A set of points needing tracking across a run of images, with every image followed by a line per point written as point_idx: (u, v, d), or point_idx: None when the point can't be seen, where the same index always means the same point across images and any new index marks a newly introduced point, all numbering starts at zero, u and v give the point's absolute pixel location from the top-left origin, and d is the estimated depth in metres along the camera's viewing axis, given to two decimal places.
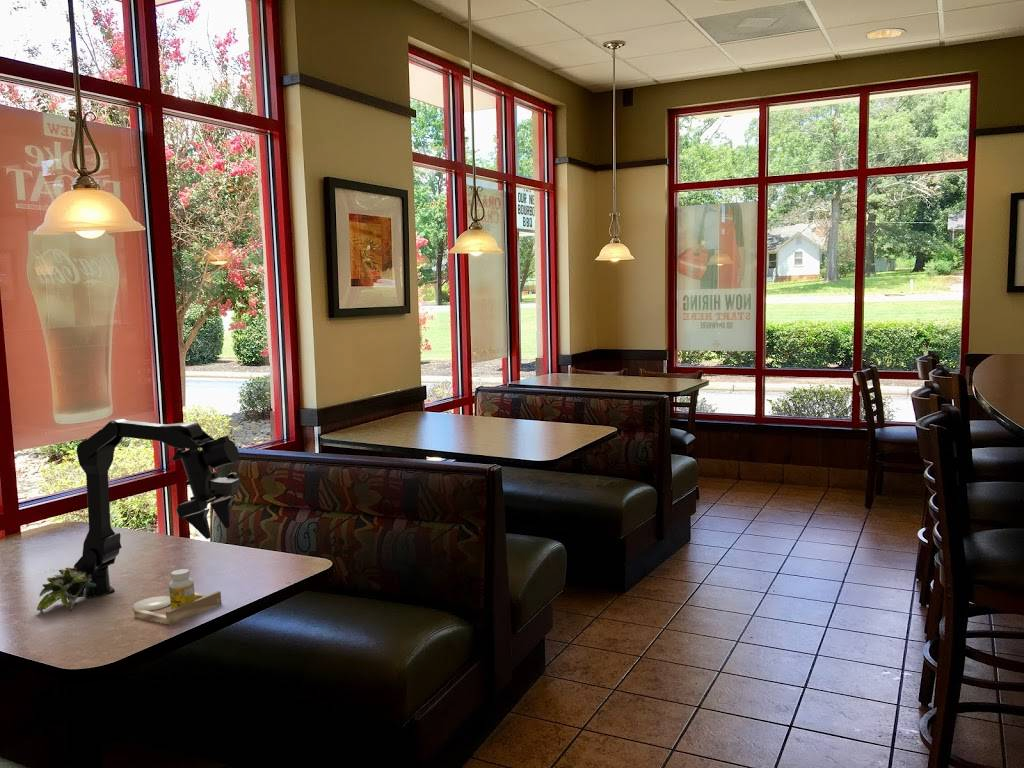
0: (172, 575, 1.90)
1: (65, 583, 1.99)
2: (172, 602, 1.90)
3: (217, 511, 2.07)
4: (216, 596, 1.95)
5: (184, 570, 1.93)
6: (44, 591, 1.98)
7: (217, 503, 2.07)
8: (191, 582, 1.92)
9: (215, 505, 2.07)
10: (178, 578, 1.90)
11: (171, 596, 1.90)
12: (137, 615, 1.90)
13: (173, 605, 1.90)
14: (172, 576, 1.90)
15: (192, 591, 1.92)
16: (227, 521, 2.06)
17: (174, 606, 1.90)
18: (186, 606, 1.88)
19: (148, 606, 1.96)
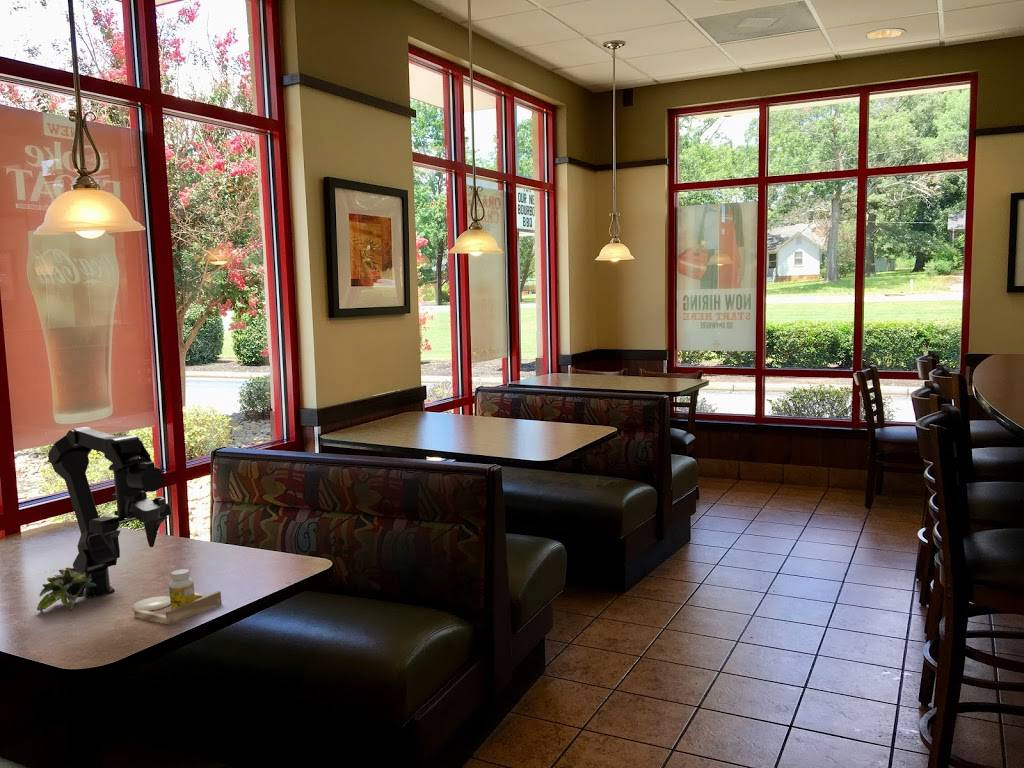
0: (172, 575, 1.90)
1: (65, 583, 1.99)
2: (172, 602, 1.90)
3: (147, 527, 2.03)
4: (216, 596, 1.95)
5: (184, 570, 1.93)
6: (44, 591, 1.98)
7: None
8: (191, 582, 1.92)
9: None
10: (178, 578, 1.90)
11: (171, 596, 1.90)
12: (137, 615, 1.90)
13: (173, 605, 1.90)
14: (172, 576, 1.90)
15: (192, 591, 1.92)
16: (151, 540, 2.02)
17: (174, 606, 1.90)
18: (186, 606, 1.88)
19: (148, 606, 1.96)
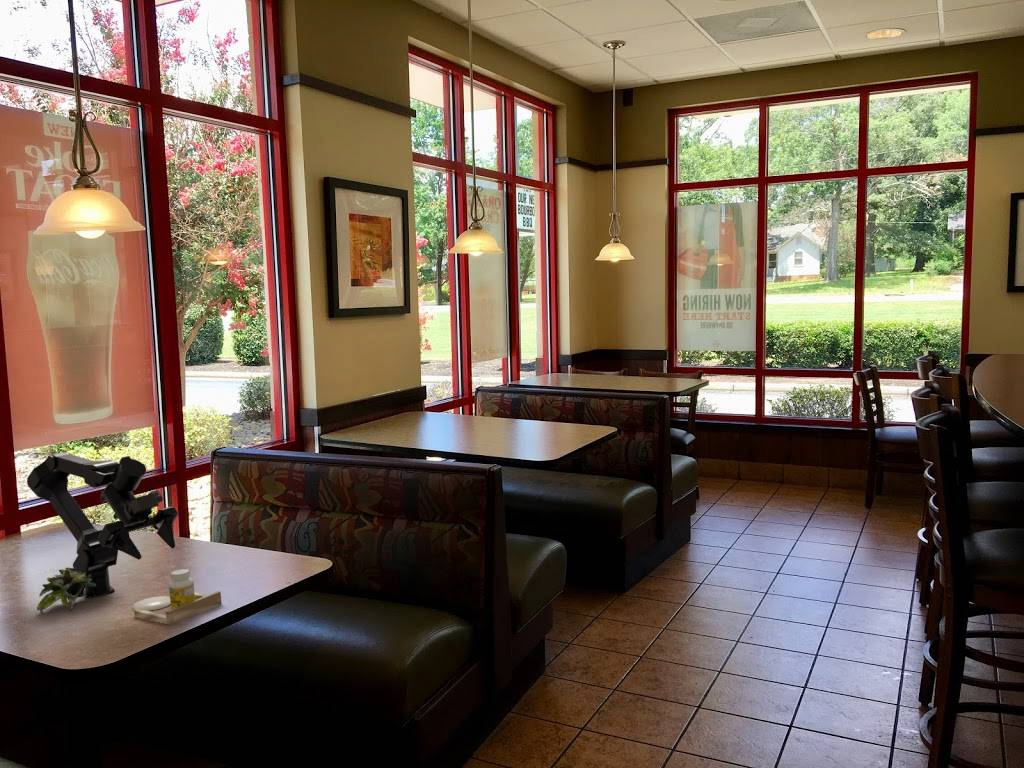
0: (172, 575, 1.90)
1: (65, 583, 1.99)
2: (172, 602, 1.90)
3: (162, 535, 2.02)
4: (216, 596, 1.95)
5: (184, 570, 1.93)
6: (44, 591, 1.98)
7: (160, 528, 2.02)
8: (191, 582, 1.92)
9: (159, 531, 2.02)
10: (178, 578, 1.90)
11: (171, 596, 1.90)
12: (137, 615, 1.90)
13: (173, 605, 1.90)
14: (172, 576, 1.90)
15: (192, 591, 1.92)
16: (170, 541, 2.00)
17: (174, 606, 1.90)
18: (186, 606, 1.88)
19: (148, 606, 1.96)
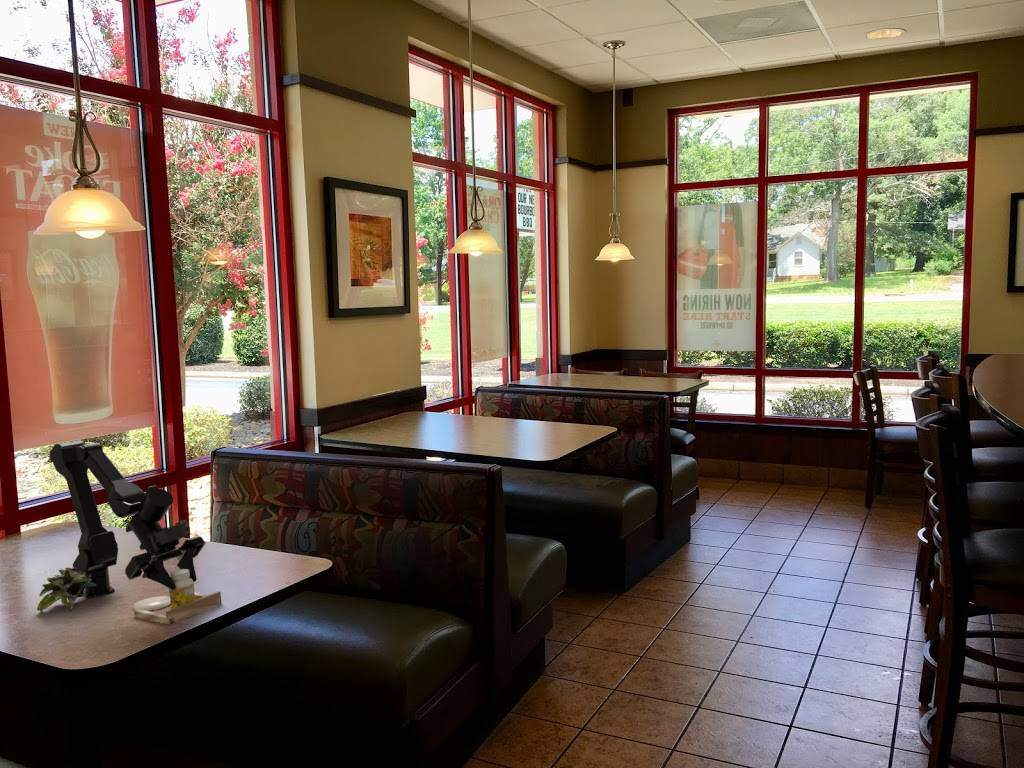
0: (172, 575, 1.90)
1: (65, 583, 1.99)
2: (172, 602, 1.90)
3: (183, 568, 1.96)
4: (216, 596, 1.95)
5: (184, 570, 1.93)
6: (44, 591, 1.98)
7: (180, 561, 1.97)
8: (191, 582, 1.92)
9: (180, 564, 1.97)
10: (178, 578, 1.90)
11: (171, 596, 1.90)
12: (137, 615, 1.90)
13: (173, 605, 1.90)
14: (172, 576, 1.90)
15: (192, 591, 1.92)
16: (191, 574, 1.94)
17: (174, 606, 1.90)
18: (186, 606, 1.88)
19: (148, 606, 1.96)
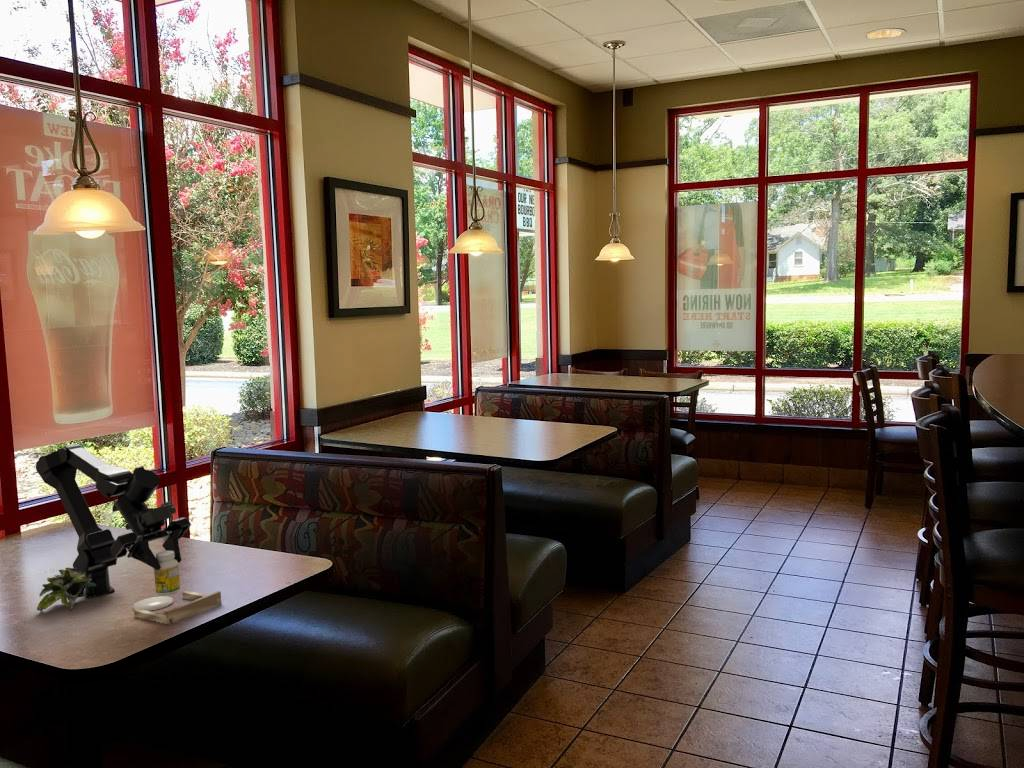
0: (157, 556, 1.92)
1: (65, 583, 1.99)
2: (157, 583, 1.93)
3: (168, 549, 1.98)
4: (216, 596, 1.95)
5: (169, 551, 1.95)
6: (44, 591, 1.98)
7: (165, 541, 1.99)
8: (176, 563, 1.94)
9: (165, 544, 1.99)
10: (163, 559, 1.92)
11: (156, 577, 1.93)
12: (137, 615, 1.90)
13: (157, 586, 1.92)
14: (157, 557, 1.93)
15: (177, 572, 1.94)
16: (176, 555, 1.96)
17: (158, 587, 1.92)
18: (186, 606, 1.88)
19: (148, 606, 1.96)
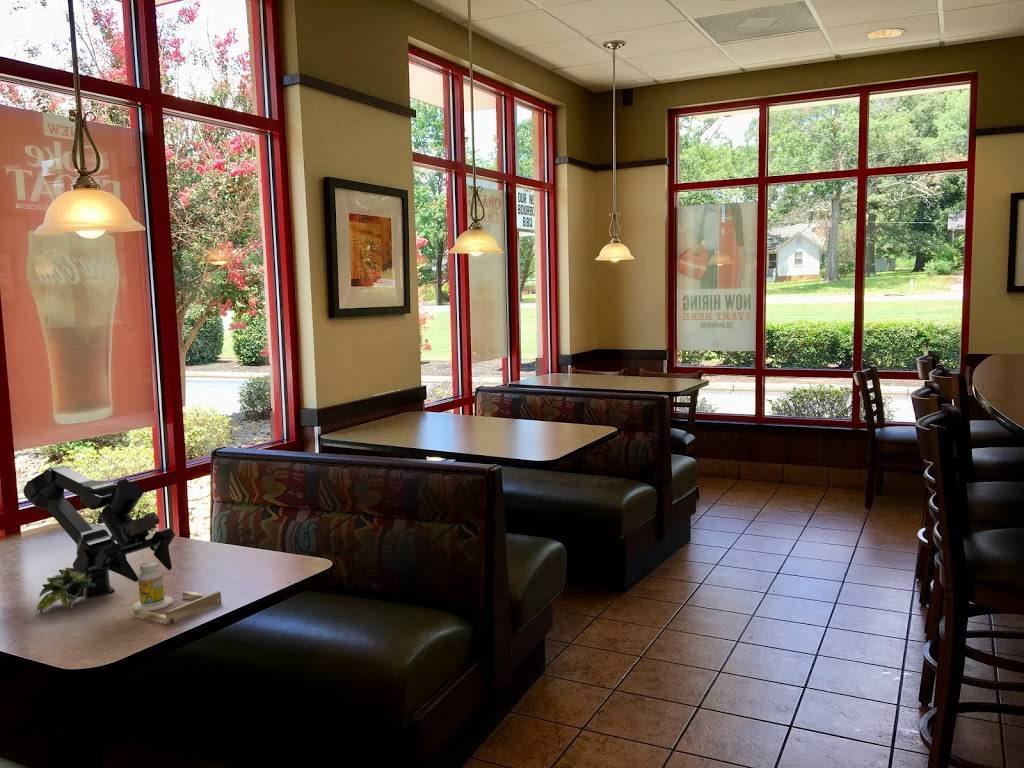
0: (141, 567, 1.96)
1: (65, 583, 1.99)
2: (141, 594, 1.96)
3: (159, 557, 2.03)
4: (216, 596, 1.95)
5: (153, 563, 1.98)
6: (44, 591, 1.98)
7: (156, 550, 2.04)
8: (160, 574, 1.97)
9: (156, 553, 2.04)
10: (146, 570, 1.96)
11: (140, 588, 1.96)
12: (137, 615, 1.90)
13: (142, 597, 1.96)
14: (141, 568, 1.96)
15: (161, 583, 1.98)
16: (167, 562, 2.01)
17: (143, 597, 1.96)
18: (186, 606, 1.88)
19: (148, 606, 1.96)
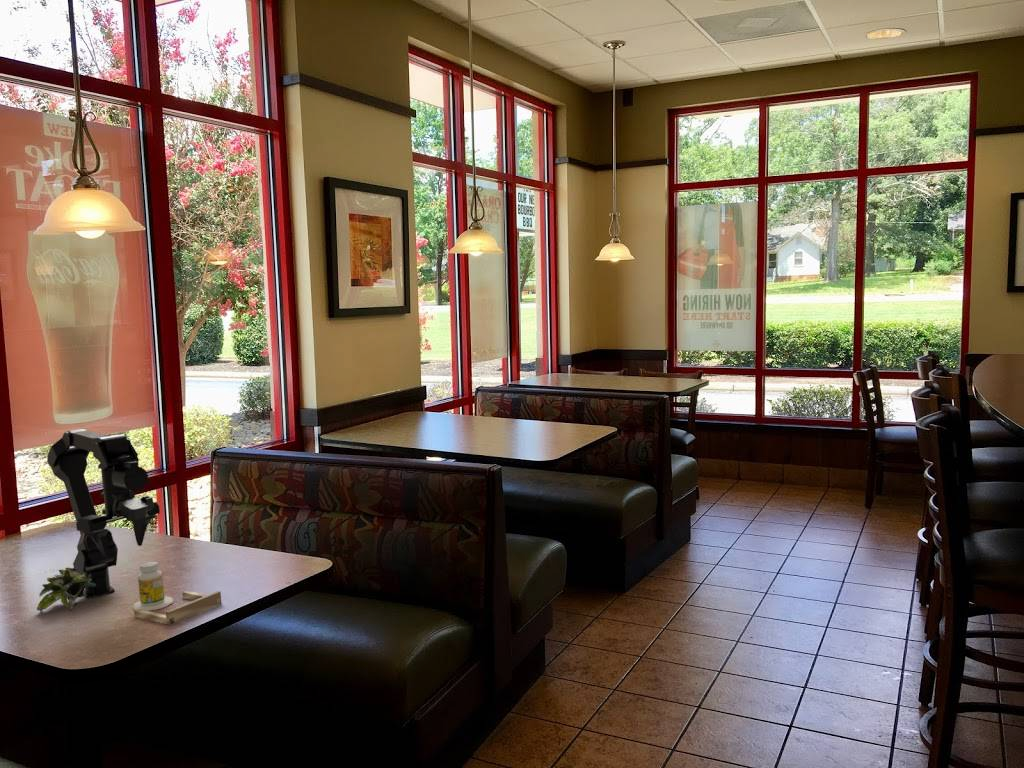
0: (141, 567, 1.96)
1: (65, 583, 1.99)
2: (141, 594, 1.96)
3: (135, 525, 2.03)
4: (216, 596, 1.95)
5: (153, 563, 1.98)
6: (44, 591, 1.98)
7: None
8: (160, 574, 1.97)
9: None
10: (146, 570, 1.96)
11: (140, 588, 1.96)
12: (137, 615, 1.90)
13: (142, 597, 1.96)
14: (141, 568, 1.96)
15: (161, 583, 1.98)
16: (139, 539, 2.02)
17: (143, 597, 1.96)
18: (186, 606, 1.88)
19: (148, 606, 1.96)
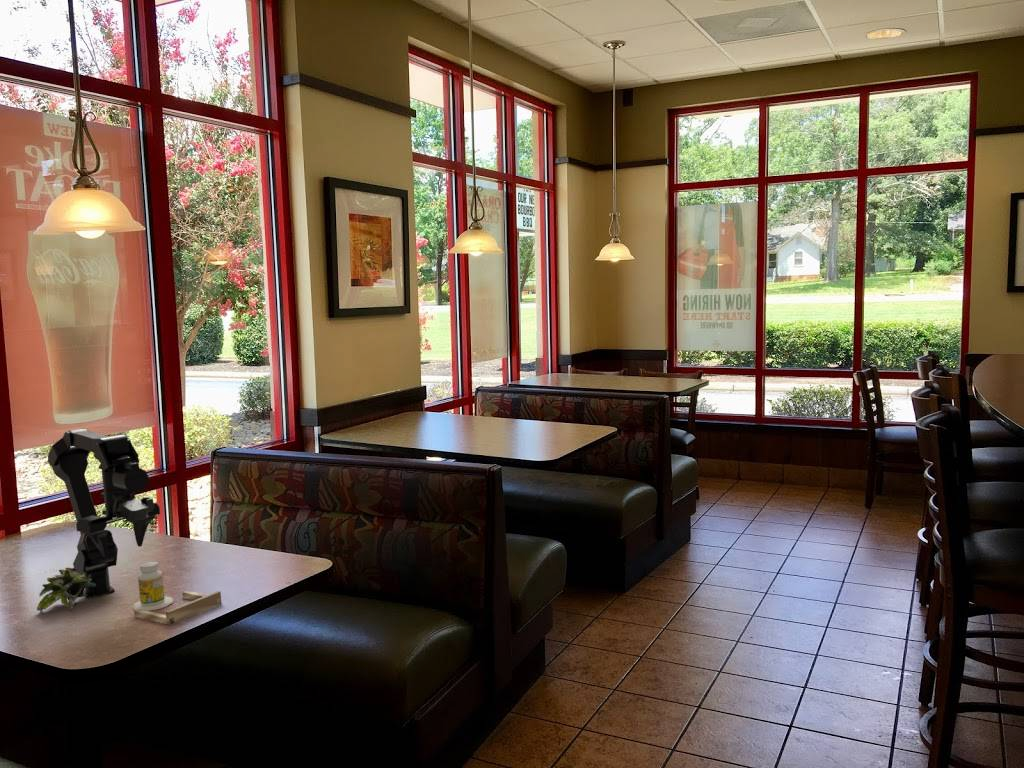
0: (141, 567, 1.96)
1: (65, 583, 1.99)
2: (141, 594, 1.96)
3: (135, 526, 2.03)
4: (216, 596, 1.95)
5: (153, 563, 1.98)
6: (44, 591, 1.98)
7: None
8: (160, 574, 1.97)
9: None
10: (147, 570, 1.96)
11: (140, 588, 1.96)
12: (137, 615, 1.90)
13: (142, 597, 1.96)
14: (141, 568, 1.96)
15: (161, 583, 1.98)
16: (139, 540, 2.02)
17: (143, 597, 1.96)
18: (186, 606, 1.88)
19: (148, 606, 1.96)
